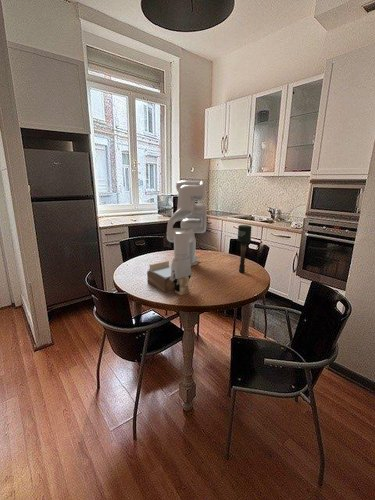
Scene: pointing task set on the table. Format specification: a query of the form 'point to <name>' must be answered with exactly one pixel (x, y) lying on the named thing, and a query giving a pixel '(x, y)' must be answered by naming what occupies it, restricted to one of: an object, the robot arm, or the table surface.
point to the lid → (161, 269)
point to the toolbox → (160, 282)
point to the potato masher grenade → (243, 243)
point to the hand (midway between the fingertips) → (181, 289)
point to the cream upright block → (183, 286)
